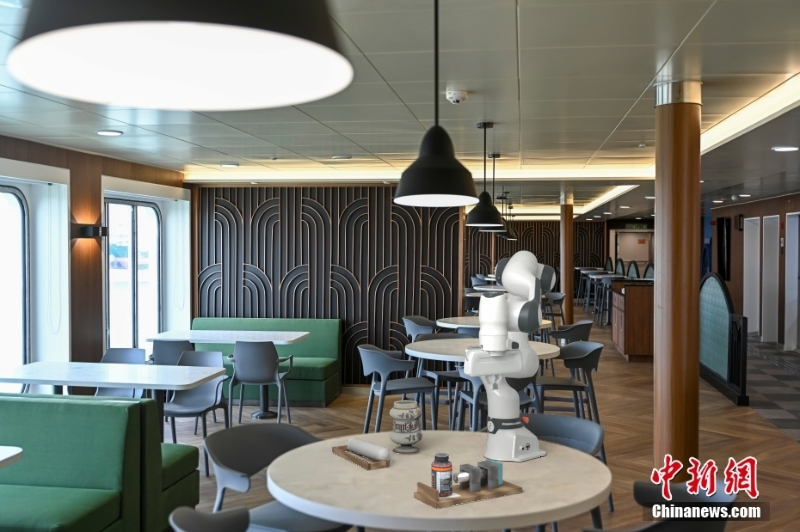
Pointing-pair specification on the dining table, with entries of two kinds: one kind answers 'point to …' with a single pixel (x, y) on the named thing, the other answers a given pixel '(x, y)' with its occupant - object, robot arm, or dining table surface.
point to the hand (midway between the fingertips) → (493, 389)
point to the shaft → (483, 474)
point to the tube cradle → (368, 466)
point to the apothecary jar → (406, 426)
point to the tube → (368, 449)
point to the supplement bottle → (442, 474)
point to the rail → (468, 487)
